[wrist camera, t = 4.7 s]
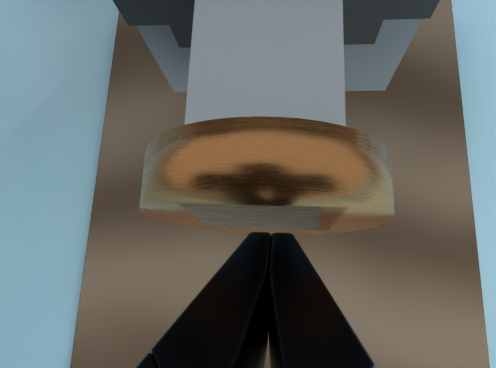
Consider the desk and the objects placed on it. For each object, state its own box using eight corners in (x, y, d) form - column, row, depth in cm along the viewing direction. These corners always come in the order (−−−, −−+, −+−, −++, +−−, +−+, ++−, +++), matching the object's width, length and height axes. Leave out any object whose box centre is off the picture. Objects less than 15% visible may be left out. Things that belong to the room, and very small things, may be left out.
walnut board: (491, 523, 13) (507, 542, 12) (67, 484, 15) (52, 498, 14) (441, 11, 18) (450, -4, 17) (128, 20, 20) (119, 6, 19)
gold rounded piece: (365, 236, 11) (439, 193, 6) (177, 231, 11) (90, 188, 6) (356, -17, 13) (404, -216, 8) (197, -12, 13) (144, -196, 8)
